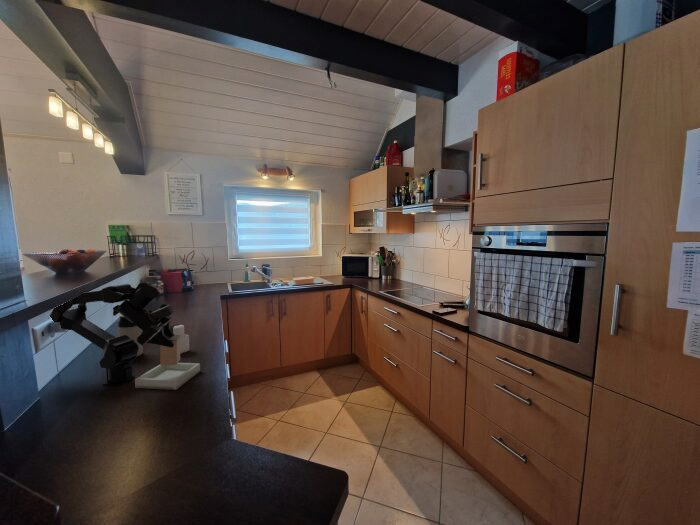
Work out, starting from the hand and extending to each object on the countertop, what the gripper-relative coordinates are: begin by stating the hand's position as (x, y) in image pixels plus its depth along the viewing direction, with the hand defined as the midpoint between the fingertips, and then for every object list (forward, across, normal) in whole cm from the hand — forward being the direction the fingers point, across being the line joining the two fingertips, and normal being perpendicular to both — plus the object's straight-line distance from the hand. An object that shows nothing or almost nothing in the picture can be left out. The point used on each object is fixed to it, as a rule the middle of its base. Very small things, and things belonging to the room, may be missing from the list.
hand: (175, 343), depth 103 cm
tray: (+8, 0, +10) cm, 13 cm away
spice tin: (+4, 0, +6) cm, 7 cm away
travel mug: (-7, +28, +25) cm, 38 cm away
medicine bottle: (+5, +28, +13) cm, 31 cm away
